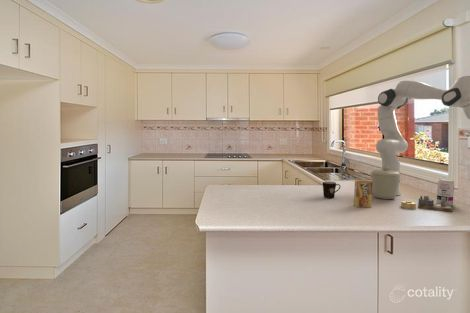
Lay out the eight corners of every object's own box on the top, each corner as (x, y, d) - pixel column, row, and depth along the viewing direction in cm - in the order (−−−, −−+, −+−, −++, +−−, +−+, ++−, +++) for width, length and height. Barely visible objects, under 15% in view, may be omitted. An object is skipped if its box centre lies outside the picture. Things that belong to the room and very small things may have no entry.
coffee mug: (322, 198, 196) (322, 183, 195) (321, 195, 204) (322, 181, 204) (341, 199, 193) (341, 184, 192) (339, 196, 202) (340, 181, 201)
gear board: (418, 207, 174) (418, 196, 174) (418, 204, 183) (418, 193, 182) (452, 212, 166) (453, 200, 165) (450, 208, 175) (451, 197, 174)
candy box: (368, 205, 178) (370, 180, 177) (371, 207, 174) (372, 181, 173) (353, 205, 179) (354, 179, 177) (355, 207, 174) (357, 180, 173)
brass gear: (400, 207, 174) (401, 202, 173) (401, 205, 180) (401, 200, 180) (415, 209, 170) (415, 204, 170) (415, 207, 176) (415, 201, 176)
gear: (418, 204, 175) (419, 196, 175) (418, 202, 181) (418, 194, 181) (433, 206, 171) (434, 198, 171) (433, 203, 178) (433, 196, 177)
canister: (392, 195, 208) (394, 164, 206) (404, 201, 190) (406, 168, 188) (365, 194, 210) (367, 164, 208) (375, 200, 192) (376, 167, 190)
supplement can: (449, 203, 186) (451, 179, 185) (455, 206, 178) (457, 181, 177) (434, 202, 189) (436, 178, 187) (439, 205, 181) (441, 180, 179)
